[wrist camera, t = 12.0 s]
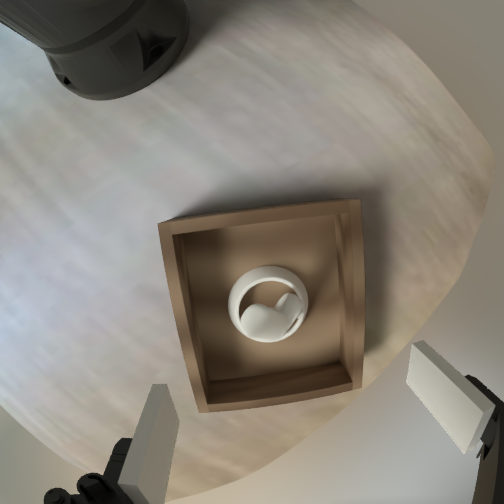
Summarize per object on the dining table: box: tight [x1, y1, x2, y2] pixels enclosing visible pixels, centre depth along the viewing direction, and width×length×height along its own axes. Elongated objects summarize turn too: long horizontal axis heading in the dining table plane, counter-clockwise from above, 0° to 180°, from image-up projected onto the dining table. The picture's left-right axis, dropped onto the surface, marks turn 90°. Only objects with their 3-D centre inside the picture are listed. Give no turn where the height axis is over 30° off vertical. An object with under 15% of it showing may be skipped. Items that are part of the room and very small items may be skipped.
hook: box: [228, 266, 308, 342], centre depth 25 cm, size 8×12×7 cm
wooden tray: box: [158, 199, 365, 413], centre depth 27 cm, size 18×16×5 cm
